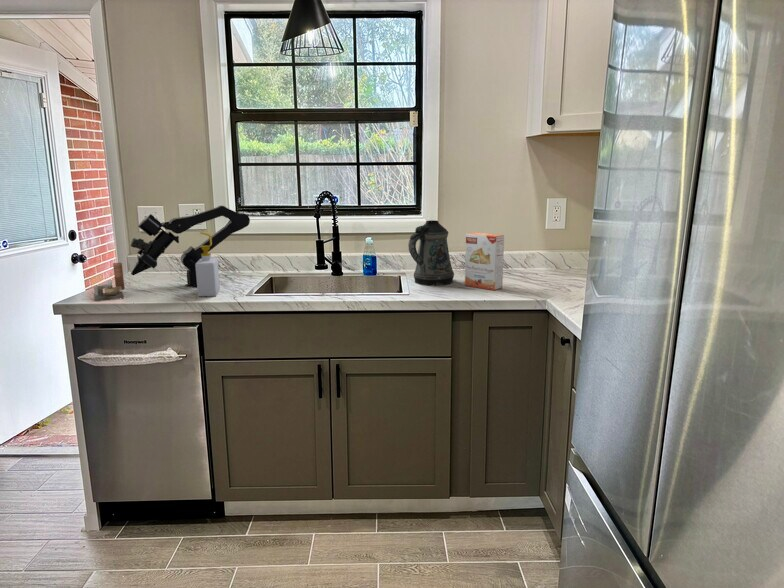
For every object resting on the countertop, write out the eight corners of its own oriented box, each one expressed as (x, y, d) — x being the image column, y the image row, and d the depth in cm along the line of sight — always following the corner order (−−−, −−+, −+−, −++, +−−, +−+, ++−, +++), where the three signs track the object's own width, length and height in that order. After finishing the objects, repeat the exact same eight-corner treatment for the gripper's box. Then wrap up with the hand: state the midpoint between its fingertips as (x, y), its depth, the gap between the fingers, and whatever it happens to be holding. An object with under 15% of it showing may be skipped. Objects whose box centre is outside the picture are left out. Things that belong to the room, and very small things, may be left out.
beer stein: (459, 279, 238) (460, 219, 233) (441, 288, 222) (442, 224, 216) (423, 276, 246) (423, 218, 240) (403, 285, 229) (403, 222, 223)
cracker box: (464, 286, 226) (465, 233, 222) (473, 283, 231) (474, 231, 226) (494, 290, 217) (496, 235, 212) (502, 288, 221) (504, 234, 217)
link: (114, 295, 209) (111, 268, 207) (104, 295, 209) (100, 268, 207) (126, 288, 221) (123, 262, 219) (117, 288, 221) (114, 262, 219)
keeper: (112, 292, 216) (111, 277, 215) (113, 295, 211) (111, 280, 209) (94, 293, 214) (93, 279, 212) (95, 297, 208) (93, 282, 207)
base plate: (122, 293, 218) (122, 291, 218) (123, 298, 210) (123, 295, 210) (94, 296, 214) (94, 293, 214) (94, 301, 206) (94, 298, 206)
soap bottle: (202, 290, 223) (197, 230, 217) (220, 289, 224) (215, 229, 219) (197, 297, 211) (192, 234, 206) (216, 296, 212) (211, 233, 207)
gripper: (140, 228, 227) (113, 257, 225) (144, 232, 211) (114, 264, 208) (163, 246, 232) (136, 275, 230) (169, 252, 216) (140, 283, 214)
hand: (131, 274), depth 220 cm, fingers closed
